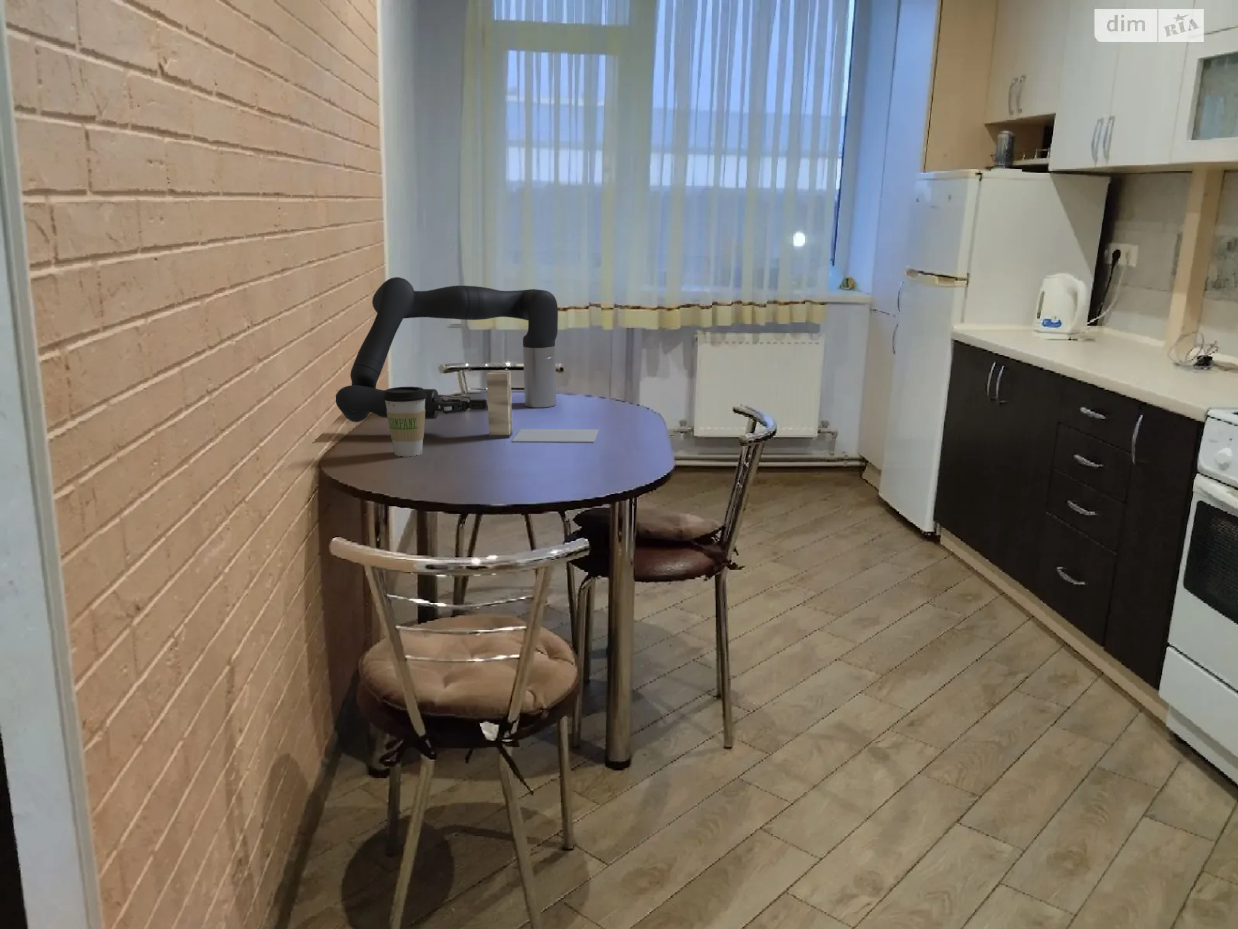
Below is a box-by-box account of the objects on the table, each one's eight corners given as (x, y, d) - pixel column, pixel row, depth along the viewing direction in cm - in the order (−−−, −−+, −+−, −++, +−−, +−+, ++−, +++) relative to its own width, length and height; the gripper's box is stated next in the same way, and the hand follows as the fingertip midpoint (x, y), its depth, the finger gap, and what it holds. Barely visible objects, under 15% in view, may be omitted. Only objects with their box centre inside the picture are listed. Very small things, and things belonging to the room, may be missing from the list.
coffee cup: (378, 454, 225) (373, 390, 222) (413, 446, 232) (409, 384, 229) (403, 460, 219) (399, 394, 215) (438, 453, 226) (435, 389, 222)
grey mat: (521, 430, 250) (521, 428, 250) (598, 430, 249) (598, 429, 249) (512, 442, 237) (512, 440, 237) (593, 442, 236) (593, 441, 236)
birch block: (493, 433, 246) (490, 370, 243) (512, 433, 246) (510, 370, 242) (489, 437, 242) (486, 373, 238) (509, 438, 241) (506, 373, 237)
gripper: (409, 393, 236) (480, 393, 235) (423, 384, 249) (490, 384, 248) (411, 424, 238) (481, 424, 237) (425, 413, 251) (492, 413, 250)
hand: (486, 404), depth 242 cm, fingers closed
